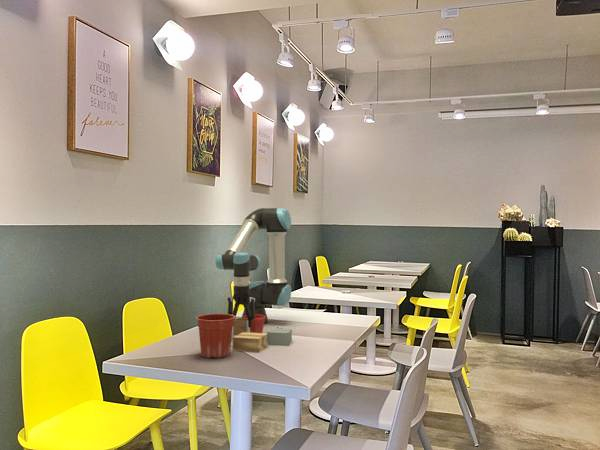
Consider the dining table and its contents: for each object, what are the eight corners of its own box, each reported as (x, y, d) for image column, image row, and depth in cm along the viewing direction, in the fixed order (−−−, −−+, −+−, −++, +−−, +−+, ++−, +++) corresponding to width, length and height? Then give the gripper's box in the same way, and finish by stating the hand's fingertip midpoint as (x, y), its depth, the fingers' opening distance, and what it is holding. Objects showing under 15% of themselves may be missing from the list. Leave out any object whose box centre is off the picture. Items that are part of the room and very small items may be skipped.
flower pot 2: (261, 338, 245) (261, 318, 245) (240, 337, 248) (240, 317, 248) (267, 333, 256) (267, 314, 256) (246, 332, 258) (246, 313, 258)
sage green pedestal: (271, 340, 242) (271, 328, 242) (291, 341, 241) (291, 328, 241) (266, 345, 232) (267, 332, 232) (288, 346, 231) (288, 333, 231)
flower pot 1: (200, 349, 222) (201, 313, 222) (237, 350, 222) (238, 313, 222) (191, 359, 206) (191, 320, 206) (231, 360, 205) (231, 320, 205)
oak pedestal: (243, 345, 233) (243, 331, 233) (267, 346, 230) (267, 333, 230) (232, 351, 221) (232, 337, 221) (258, 353, 218) (258, 339, 218)
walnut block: (238, 332, 245) (238, 318, 245) (249, 333, 243) (249, 318, 243) (233, 335, 239) (233, 320, 239) (245, 336, 238) (245, 321, 237)
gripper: (219, 285, 240) (220, 333, 240) (257, 287, 235) (257, 336, 235) (226, 283, 247) (226, 330, 248) (262, 284, 242) (263, 332, 242)
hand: (241, 333), depth 241 cm, fingers closed on walnut block, 6 cm apart
